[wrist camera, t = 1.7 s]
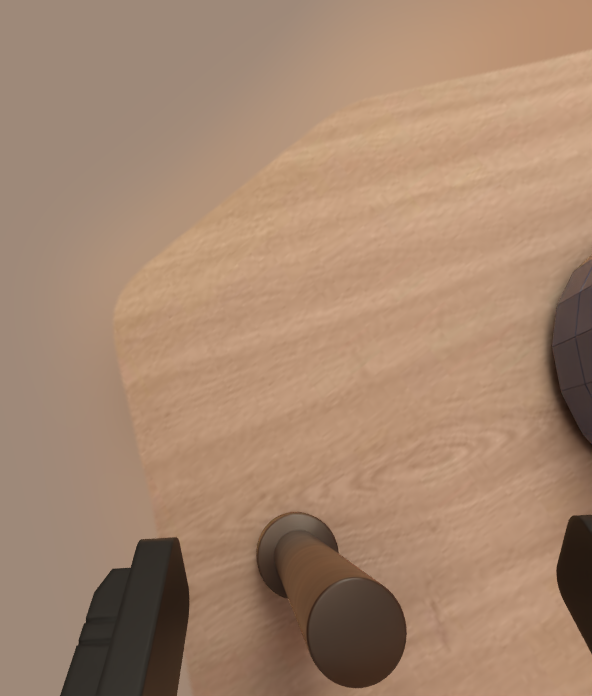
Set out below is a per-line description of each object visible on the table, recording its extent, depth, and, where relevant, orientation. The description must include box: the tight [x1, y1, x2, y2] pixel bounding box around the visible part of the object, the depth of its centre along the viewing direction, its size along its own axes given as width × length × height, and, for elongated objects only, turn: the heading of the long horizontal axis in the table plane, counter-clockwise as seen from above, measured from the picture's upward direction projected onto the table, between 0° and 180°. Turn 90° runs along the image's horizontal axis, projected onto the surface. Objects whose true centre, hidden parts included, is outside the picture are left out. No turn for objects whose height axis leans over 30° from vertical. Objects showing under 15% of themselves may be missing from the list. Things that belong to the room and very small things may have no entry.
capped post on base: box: [257, 512, 407, 688], centre depth 21 cm, size 4×4×16 cm
